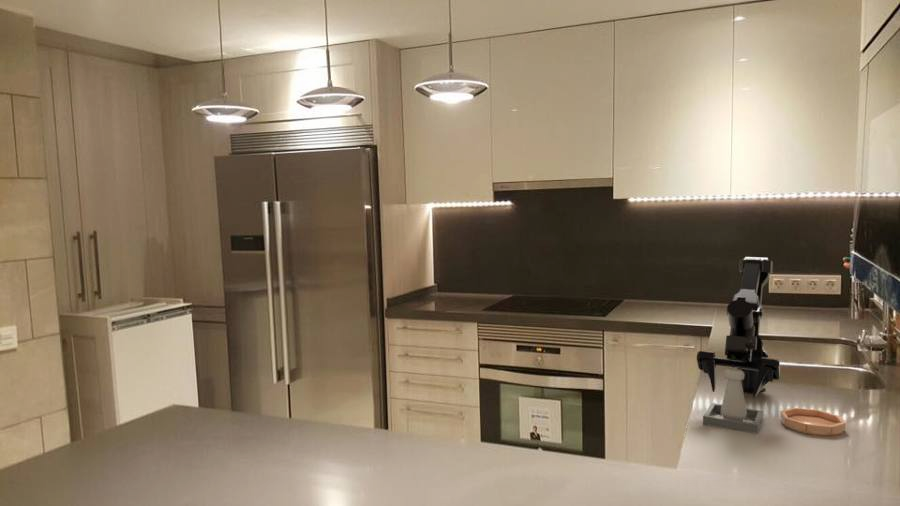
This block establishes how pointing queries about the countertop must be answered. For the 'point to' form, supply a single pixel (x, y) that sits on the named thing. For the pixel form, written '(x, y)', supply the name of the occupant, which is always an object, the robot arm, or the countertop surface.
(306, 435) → the countertop surface
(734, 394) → the salt shaker
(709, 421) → the charcoal tray
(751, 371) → the robot arm
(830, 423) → the terracotta dish
